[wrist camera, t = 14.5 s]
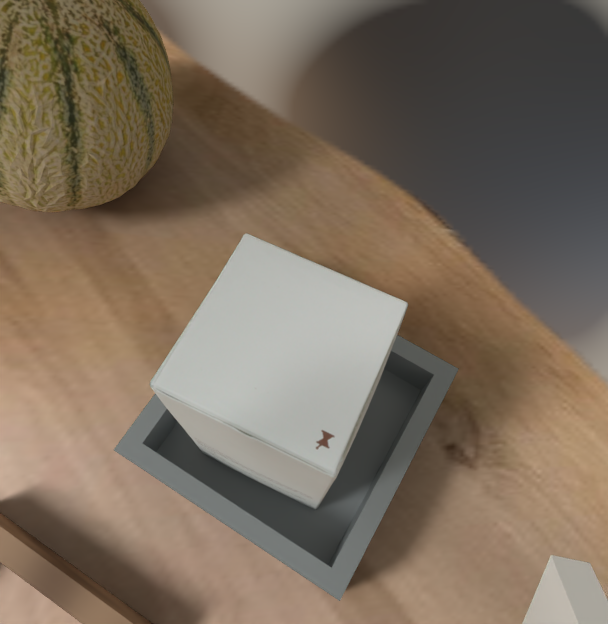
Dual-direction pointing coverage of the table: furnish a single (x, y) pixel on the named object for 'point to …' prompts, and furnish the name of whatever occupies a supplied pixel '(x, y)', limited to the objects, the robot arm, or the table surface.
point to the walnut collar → (61, 579)
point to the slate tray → (341, 495)
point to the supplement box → (280, 368)
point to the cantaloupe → (79, 101)
